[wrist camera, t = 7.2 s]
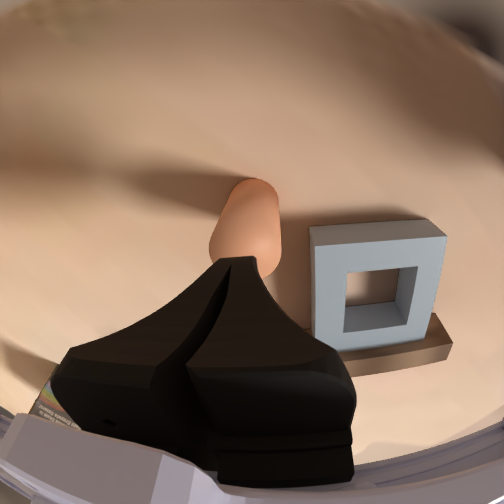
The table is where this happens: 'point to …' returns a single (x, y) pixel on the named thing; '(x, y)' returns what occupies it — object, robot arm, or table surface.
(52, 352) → the table surface
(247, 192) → the dowel
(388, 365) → the backstop wall
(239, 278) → the robot arm
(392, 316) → the block
